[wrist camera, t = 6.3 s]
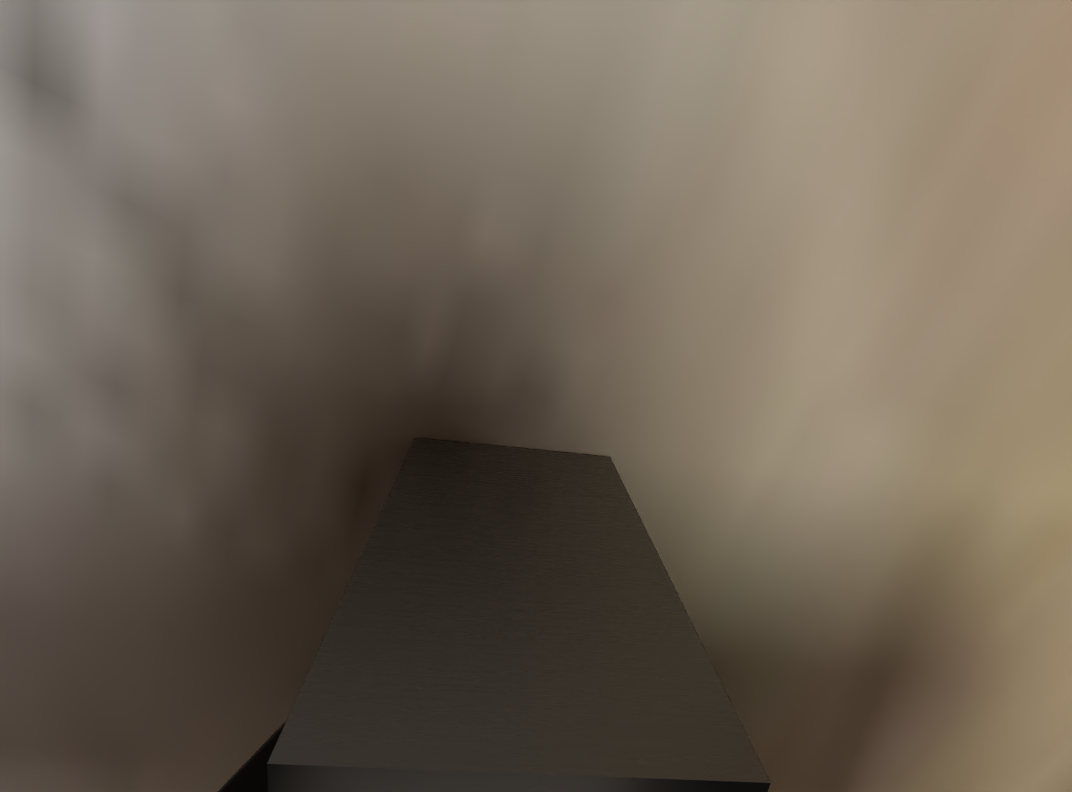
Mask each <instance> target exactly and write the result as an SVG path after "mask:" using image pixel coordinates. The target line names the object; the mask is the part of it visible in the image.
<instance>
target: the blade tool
mask: <svg viewBox="0 0 1072 792" xmlns="http://www.w3.org/2000/svg"><path fill="white" fill-rule="evenodd" d="M267 779H268V792H768V789H769V786H770V781H769V779H768V777H767V774H766V772H765V770H764V768H763V766H762V764H761V762H760V760H759V758H758V756H757V754H756V752H755V750H754V748H753V746H752V744H751V742H750V740H749V738H748V736H747V734H746V732H745V730H744V728H743V726H742V724H741V722H740V720H739V718H738V716H737V714H736V712H735V709H734V707H733V705H732V703H731V701H730V699H729V697H728V695H727V693H726V691H725V689H724V687H723V685H722V683H721V681H720V679H719V677H718V675H717V673H716V671H715V669H714V667H713V665H712V663H711V661H710V659H709V657H708V655H707V653H706V651H705V649H704V647H703V644H702V642H701V640H700V638H699V636H698V634H697V632H696V630H695V628H694V626H693V624H692V622H691V620H690V618H689V616H688V614H687V612H686V610H685V608H684V606H683V604H682V602H681V600H680V598H679V596H678V594H677V592H676V590H675V588H674V586H673V584H672V582H671V580H670V577H669V575H668V573H667V571H666V569H665V567H664V565H663V563H662V561H661V559H660V557H659V555H658V553H657V551H656V549H655V547H654V545H653V543H652V541H651V539H650V537H649V535H648V533H647V531H646V529H645V527H644V525H643V523H642V521H641V519H640V517H639V515H638V512H637V510H636V508H635V506H634V504H633V502H632V500H631V498H630V496H629V494H628V492H627V490H626V488H625V486H624V484H623V482H622V480H621V478H620V476H619V474H618V472H617V470H616V468H615V466H614V464H613V462H612V460H611V458H610V457H605V456H595V455H585V454H575V453H565V452H555V451H545V450H535V449H525V448H514V447H504V446H494V445H484V444H474V443H464V442H454V441H444V440H434V439H423V438H415V439H414V441H413V443H412V445H411V447H410V450H409V452H408V454H407V456H406V458H405V461H404V463H403V465H402V467H401V469H400V472H399V474H398V476H397V478H396V480H395V483H394V485H393V487H392V489H391V492H390V494H389V496H388V498H387V500H386V503H385V505H384V507H383V509H382V511H381V514H380V516H379V518H378V520H377V522H376V525H375V527H374V529H373V531H372V533H371V536H370V538H369V540H368V542H367V544H366V547H365V549H364V551H363V553H362V556H361V558H360V560H359V562H358V564H357V567H356V569H355V571H354V573H353V575H352V578H351V580H350V582H349V584H348V586H347V589H346V591H345V593H344V595H343V597H342V600H341V602H340V604H339V606H338V608H337V611H336V613H335V615H334V617H333V620H332V622H331V624H330V626H329V628H328V631H327V633H326V635H325V637H324V639H323V642H322V644H321V646H320V648H319V650H318V653H317V655H316V657H315V659H314V661H313V664H312V666H311V668H310V670H309V672H308V675H307V677H306V679H305V681H304V684H303V686H302V688H301V690H300V692H299V695H298V697H297V699H296V701H295V703H294V706H293V708H292V710H291V712H290V714H289V717H288V719H287V721H286V723H285V725H284V728H283V730H282V732H281V734H280V736H279V739H278V741H277V743H276V745H275V748H274V750H273V752H272V754H271V756H270V759H269V761H268V763H267Z"/></svg>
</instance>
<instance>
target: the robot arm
mask: <svg viewBox="0 0 1072 792" xmlns="http://www.w3.org/2000/svg"><path fill="white" fill-rule="evenodd" d="M286 721H287V720H286ZM285 723H286V722H285ZM285 723H284V724H283V725H282V726H281V727H280V728H279V729H278V730H277V731H276V732H275V733H274V734H273V735H272V736H271V737H270V738H269V739H268V740H267V741H266V742H265V743H264V744H263V745H262V746H261V747H260V748H259V750H258V751H257V752H256V753H255V754H254V755H253V756H252V757H251V758H250V759H249V760H248V761H247V762H246V763H245V764H244V765H243V766H242V767H241V768H240V769H239V770H238V771H237V772H236V773H235V774H234V775H233V776H232V777H231V779H230V780H229V781H228V782H227V783H226V784H225V785H224V786H223V787H222V788H221V789H220V790H219V791H218V792H268V779H267V763H268V761H269V759H270V756H271V754H272V752H273V750H274V748H275V745H276V743H277V741H278V739H279V736H280V734H281V732H282V730H283V728H284V725H285Z"/></svg>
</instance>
